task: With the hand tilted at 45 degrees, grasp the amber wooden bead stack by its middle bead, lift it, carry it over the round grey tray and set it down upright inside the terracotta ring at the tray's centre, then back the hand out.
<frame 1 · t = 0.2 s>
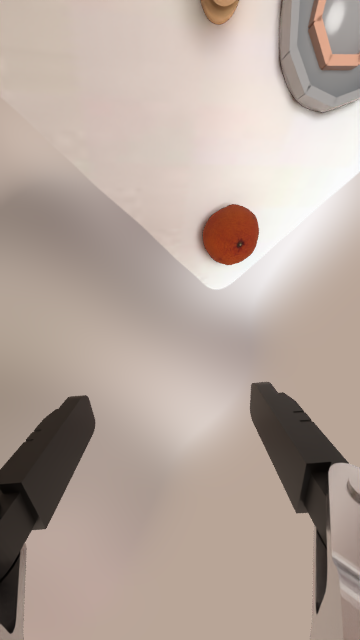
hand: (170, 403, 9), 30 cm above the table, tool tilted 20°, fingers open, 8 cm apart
round tray: (353, 1, 19), on the table
fruit: (224, 231, 33), on the table
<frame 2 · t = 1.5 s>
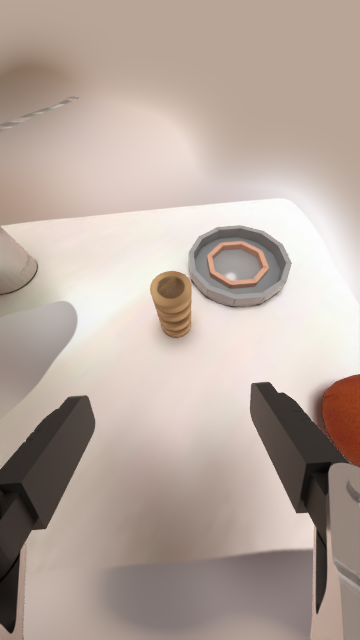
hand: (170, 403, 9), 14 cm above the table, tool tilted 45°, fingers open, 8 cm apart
round tray: (234, 268, 31), on the table
bead stack: (176, 323, 27), on the table
fruit: (346, 420, 20), on the table
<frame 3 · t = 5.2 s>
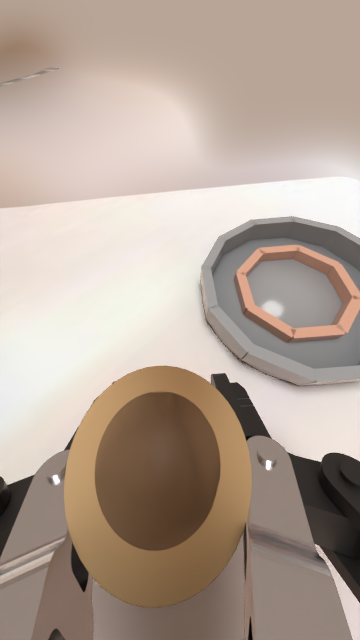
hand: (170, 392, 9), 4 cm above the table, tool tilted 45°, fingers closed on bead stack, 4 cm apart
round tray: (287, 295, 17), on the table
bead stack: (177, 427, 12), on the table, touching gripper
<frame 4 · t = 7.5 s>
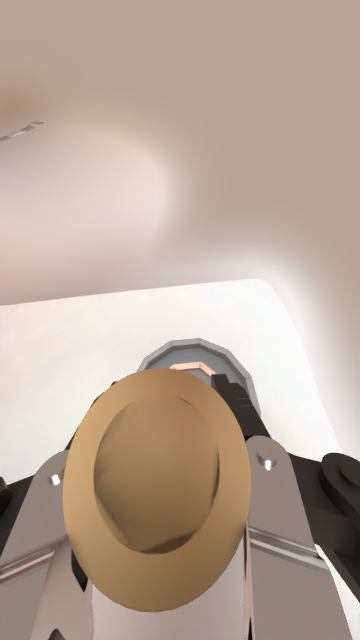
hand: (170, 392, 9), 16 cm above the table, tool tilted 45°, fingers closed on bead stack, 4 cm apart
round tray: (191, 401, 24), on the table
bead stack: (177, 428, 12), point 12 cm above the table, touching gripper
when the fingers open (6 cm above the table, at t = 10.0 s): bead stack drops 1 cm, resting on round tray.
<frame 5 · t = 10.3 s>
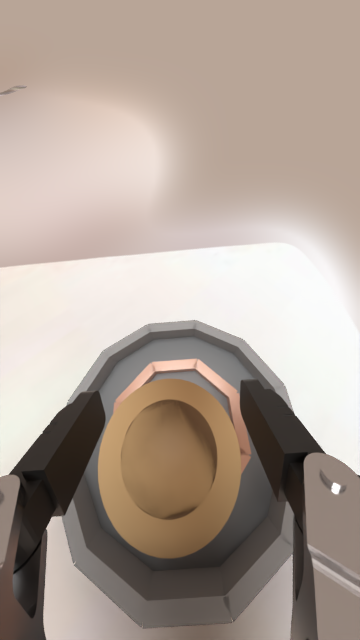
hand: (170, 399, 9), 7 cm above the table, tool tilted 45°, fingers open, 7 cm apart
round tray: (178, 424, 14), on the table
bead stack: (181, 426, 14), point 1 cm above the table, touching round tray
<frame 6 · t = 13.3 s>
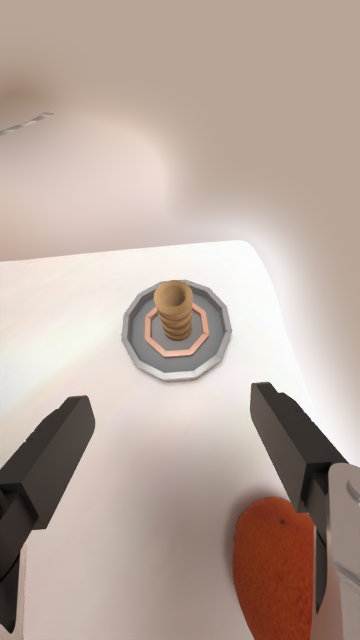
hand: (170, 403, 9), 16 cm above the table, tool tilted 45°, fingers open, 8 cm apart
round tray: (176, 329, 29), on the table
bead stack: (177, 328, 28), point 1 cm above the table, touching round tray
fruit: (269, 541, 18), on the table
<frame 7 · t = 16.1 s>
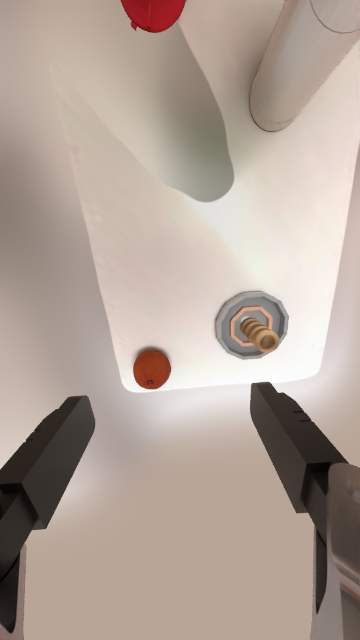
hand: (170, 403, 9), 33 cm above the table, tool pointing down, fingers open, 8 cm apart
round tray: (248, 324, 43), on the table
bead stack: (249, 326, 42), point 1 cm above the table, touching round tray
fruit: (154, 360, 46), on the table
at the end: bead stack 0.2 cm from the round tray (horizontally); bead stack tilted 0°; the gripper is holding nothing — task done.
